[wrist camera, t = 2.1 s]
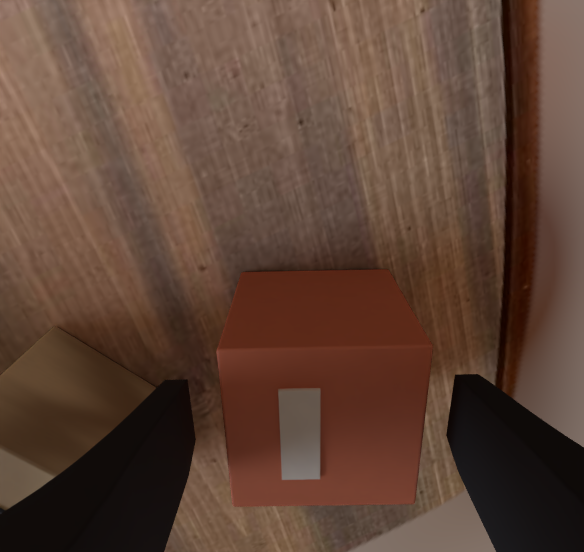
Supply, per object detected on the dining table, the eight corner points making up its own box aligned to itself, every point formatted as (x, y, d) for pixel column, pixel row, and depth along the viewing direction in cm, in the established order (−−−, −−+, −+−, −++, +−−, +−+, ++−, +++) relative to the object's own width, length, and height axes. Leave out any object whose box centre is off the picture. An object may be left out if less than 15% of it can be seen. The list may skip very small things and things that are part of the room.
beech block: (173, 396, 16) (123, 515, 12) (108, 473, 18) (41, 606, 13) (55, 324, 15) (-54, 423, 10) (-4, 412, 17) (-123, 534, 12)
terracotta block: (380, 390, 16) (416, 508, 11) (249, 393, 16) (231, 511, 11) (388, 268, 14) (435, 348, 10) (240, 271, 14) (214, 352, 10)
